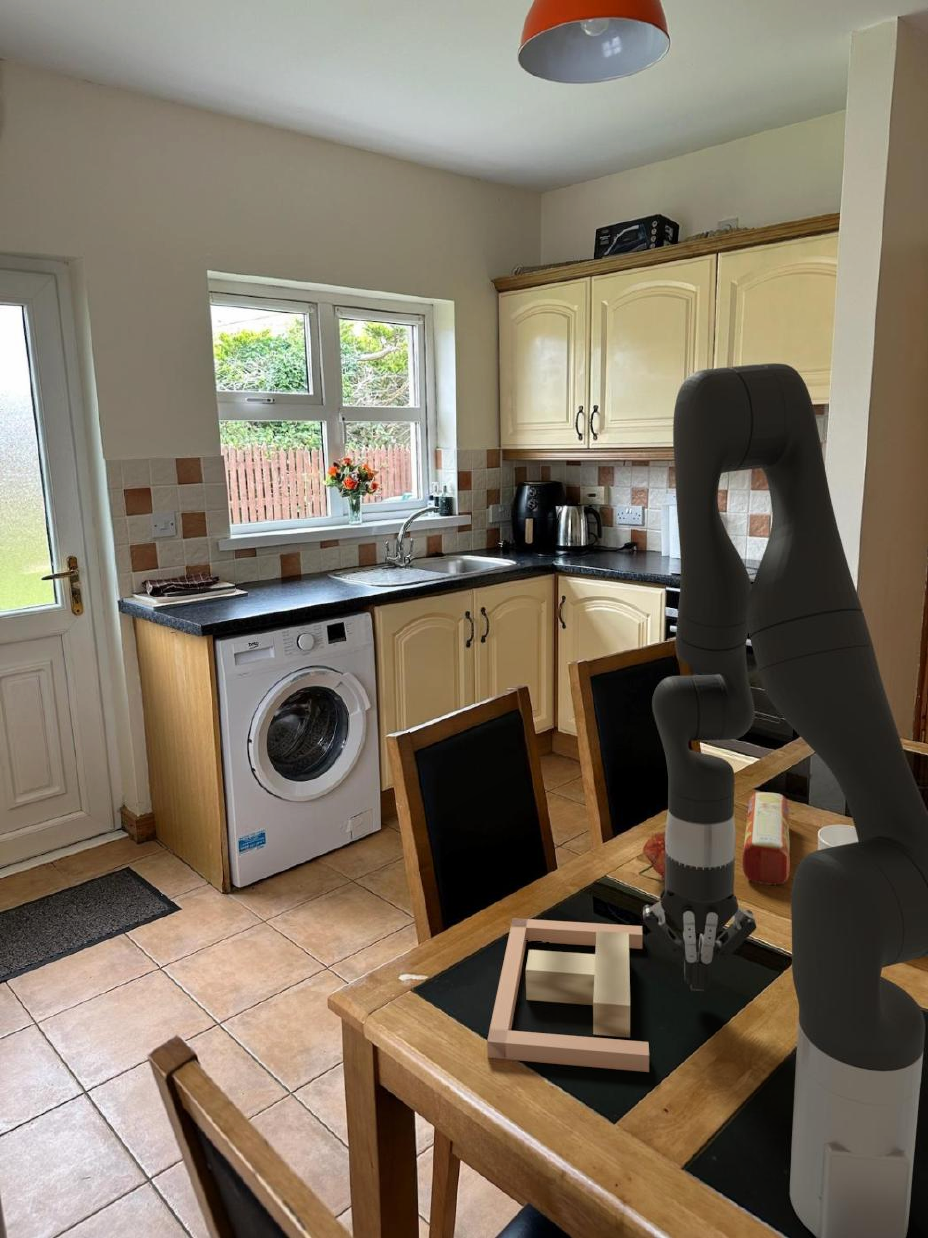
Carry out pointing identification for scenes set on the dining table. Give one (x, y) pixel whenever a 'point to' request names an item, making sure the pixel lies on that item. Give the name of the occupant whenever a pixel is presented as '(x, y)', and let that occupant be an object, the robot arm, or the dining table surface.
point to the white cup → (836, 836)
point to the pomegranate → (656, 853)
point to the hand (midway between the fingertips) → (697, 986)
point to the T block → (587, 981)
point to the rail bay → (554, 1045)
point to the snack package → (767, 839)
